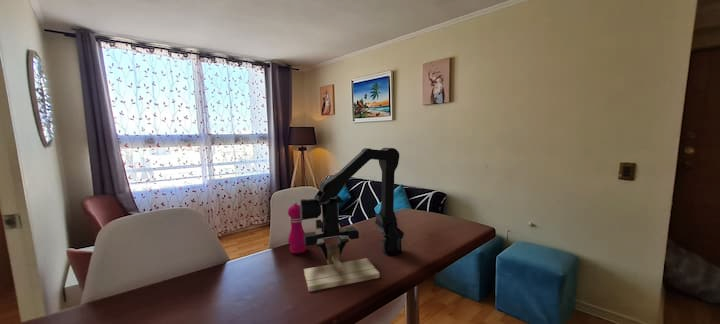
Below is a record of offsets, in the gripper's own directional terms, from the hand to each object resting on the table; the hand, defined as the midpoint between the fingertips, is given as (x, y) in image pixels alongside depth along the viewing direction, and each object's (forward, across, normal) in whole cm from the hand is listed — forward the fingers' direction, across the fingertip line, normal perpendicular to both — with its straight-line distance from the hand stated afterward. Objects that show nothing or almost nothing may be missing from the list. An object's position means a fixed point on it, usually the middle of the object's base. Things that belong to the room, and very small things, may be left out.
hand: (332, 259), depth 101 cm
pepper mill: (+2, +10, -17) cm, 20 cm away
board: (+1, -1, +10) cm, 10 cm away
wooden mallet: (+1, 0, +5) cm, 5 cm away
